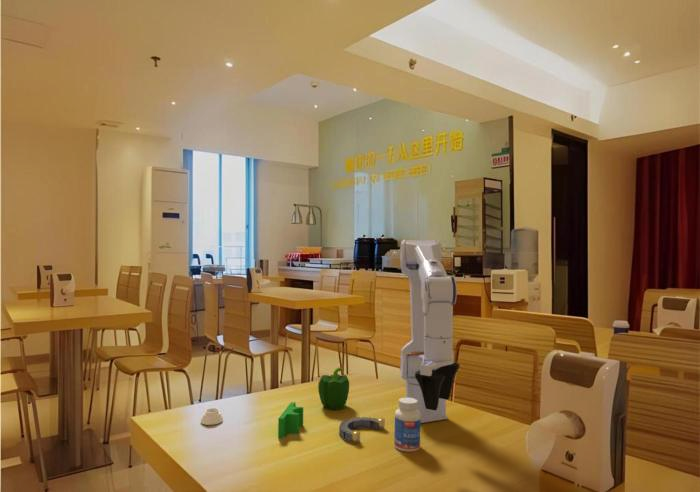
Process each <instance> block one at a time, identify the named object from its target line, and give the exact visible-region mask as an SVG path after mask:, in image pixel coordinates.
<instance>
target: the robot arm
mask: <svg viewBox="0 0 700 492" xmlns="http://www.w3.org/2000/svg"><path fill="white" fill-rule="evenodd" d="M399 248H400V249H399V256H400V261H399V262H400V270H401V274H403V275H404V276H407V277H408V283H409V296H410V297H409V298H410V299H409V301H410V329H411V330H410V331H411V333H410V335H411V340H410V341H408V342H407V343H406V344H405V345H403V347H401V350H400V360H399V366H400V367H399V369H400V370H399V372H400V377H401V378H402V380H405V385H406V386H405V398H414V399H416V400H417V401H418V408H417V409H416V410H418V411H419V412H420V414H421V424H424V423H430V422H436V421H443V420H447V419H448V418H449V417H448V416H447V400H448V401H449V400H450V397H451V393H452V389H453V383H454V380H455V378H456V374H457V372H458V370H459V369H460V364H459V363H457V362H455V361H454V354H455V353H454V351H453V349H454V347H453V344H454V341H453V338H454V337H453V332H454V305H456V302H457V295H458V289H457V288H458V287H457V281H456V278H455V276H454V275H448V273H447V272H446V269H445V267H444V265H443V263H442V262H441V261H442V244H441V242H440V241H439V240H438V239H435V240H415V239H413V240H412V239H409V240H407V239H403V240H402V241H401V242H400V247H399ZM414 353H415V354H414ZM417 353H418V354H417ZM419 353H420V354H419Z"/></svg>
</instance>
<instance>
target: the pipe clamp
mask: <svg viewBox="0 0 700 492" xmlns="http://www.w3.org/2000/svg"><path fill="white" fill-rule="evenodd" d="M296 403H297V402H295V401H291V402H290V403H289V404H288V405H287V406H286V408H285V409H284V411H283V412H282V413H281V414H280V415H279V417H278V419H277V420H278V422H277V423H278V424H277V425H278V430H277V431H278V432H277V435H278V437H277V438H278V439H279V440H280V439H284V438H285V437H286V435H287V434H289V435H290V434H291V435H292V434H293V435H299V433H300V428H301V427H303V426H304V406H297V405H296Z"/></svg>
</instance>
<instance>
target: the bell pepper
mask: <svg viewBox="0 0 700 492" xmlns="http://www.w3.org/2000/svg"><path fill="white" fill-rule="evenodd" d="M341 371H343V367H340V366H339V367H337V368H335V370H334V371H333V374H331V375H327V374H324V375H321V377H320V379H319V381H318V382H317V383H318V386H317V387H318V395H319V399H320V402H321V404H322V406H323V408H327V409H333V410H342V409H344V408H345V405H346V403H347V401H348V398H349V392H350V380H349V378H348V376H347V374H342V375H341V374H339V373H338V372H341Z"/></svg>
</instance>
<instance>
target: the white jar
mask: <svg viewBox="0 0 700 492" xmlns="http://www.w3.org/2000/svg"><path fill="white" fill-rule="evenodd" d="M204 411H205V412H204V413H203V414H202V417H201V419H200V423H201V424H203V425H204V426H215V425H218V424H220V423H222V422H223V421H224V417H223V415H222V413H221V412H220V409H219V408H217V407H210V408H207V409H205V410H204Z"/></svg>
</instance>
